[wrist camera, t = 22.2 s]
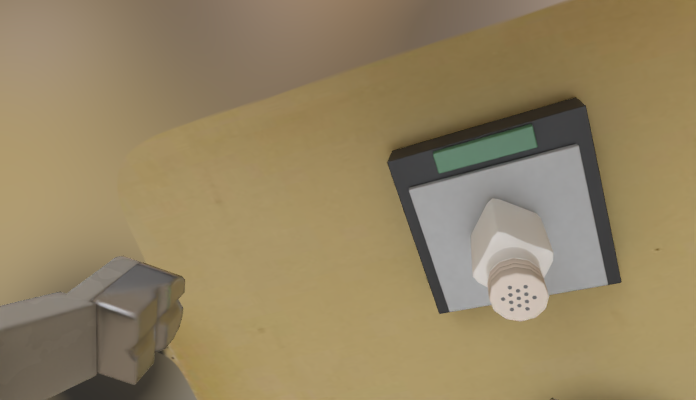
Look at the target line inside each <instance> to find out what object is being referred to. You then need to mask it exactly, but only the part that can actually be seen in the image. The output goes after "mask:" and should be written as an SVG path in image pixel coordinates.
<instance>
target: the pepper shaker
mask: <svg viewBox="0 0 696 400" xmlns="http://www.w3.org/2000/svg"><path fill="white" fill-rule="evenodd" d="M471 254H472V273H473V277H474V278H475V280H476V281H477V282H478V283H480V284H482V285H484V286H486V287H488V295H489V300H490V302H491V305H492V307H493V309H494V311H495V312H497V313H498V314H500V315H501V316H503V317H504V318H505V319H510V320H515V321H524V320H528V319H532V318H535V317H537V316H538V315H539V314H540V313H541V312H542V311H543V310H545V309H546V306H547V302H548V298H549V294H548V291H547V287H546V284H545V281H544V277H545V275H546V274H547V272H548V270H549V268H550V266H551V264H552V262H553V254H554V252H553V249H552V247H551V244H550V241H549V239H548V236H547V233H546V231H545V228H544V225H543V223H542V220H541V218H540V217H539V216H538V215H537V214H536V213H534V212H531V211H529V210H526V209H524V208H521V207H518V206H516V205H513V204H511V203H508V202H505V201H503V200H500V199H494V198H492V199H491V200H490V201H489V202H488V203H487V204H486V206H485V208H484V210H483V212H482V214H481V216H480V218H479V220H478V222H477V224H476V226H475V228H474V230H473V232H472V234H471Z"/></svg>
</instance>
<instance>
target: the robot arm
mask: <svg viewBox="0 0 696 400" xmlns="http://www.w3.org/2000/svg"><path fill="white" fill-rule="evenodd" d="M184 292H185V279H184V278H183V277H182V276H180V275H177V274H174V273H171V272H168V271H166V270H163V269H160V268H157V267H154V266H151V265H149V264H146V263H141V262H139V261H136V260H133V259H131V258H128V257H125V256H119V257H116V258H114V259H113V260H112V261H110V262H109V263H107V264H106V265H105V266H103V267H102V268H101V269H99V270H98V271H97V272H95V273H94V274H92V275H91V276H90V277H88V278H87V279H86V280H84V281H83V282H82V283H81V284H79V285H78V286H76V287H75V288H73V289H72V290H71V291H70V292H68V293H67V294H66V293H62V292H57V293H52V294H48V295H44V296H40V297H35V298H32V299H27V300H23V301H19V302H15V303H10V304H6V305H2V306H0V400H46V399H48V398H50V397H52V396H54V395H56V394H58V393H61V392H63V391H64V390H67V389H69V388H71V387H73V386H75V385H77V384H79V383H81V382H83V381H85V380H87V379H89V378H92V377H94V376H96V375H97V373H99V374H103V375H106V376H109V377H112V378H115V379H118V380H121V381H124V382H127V383H131V384H134V385H135V384H136V383H137V382H138V381H139V379H140V378H141V377H142V376H143V375H144V374H145V372H146V371H147V370H148V369H149V368H150V367H151V365H152V364H153V363H154V353H155V352H158V351H161V350H163V349H166V348H167V346H168V345H169V344H170V343H171V341H172V340H173V339H174V337H175V335H176V333H177V331H178V329H179V327H180V323H181V320H182V315H183V307H182V305H181V303H180V302H179V300H178V299H179V298H180V297H181V296H182V295H183V293H184ZM550 400H557V399H554V398H551V399H550Z"/></svg>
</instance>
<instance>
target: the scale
mask: <svg viewBox="0 0 696 400" xmlns="http://www.w3.org/2000/svg"><path fill="white" fill-rule="evenodd" d="M387 163H388V166H389V169H390V172H391V175H392V178H393V180H394V183H395V186H396V189H397V192H398V195H399V198H400V201H401V204H402V207H403V210H404V212H405V215H406V218H407V221H408V224H409V227H410V230H411V233H412V236H413V239H414V241H415V244H416V247H417V250H418V253H419V256H420V259H421V262H422V265H423V268H424V271H425V273H426V276H427V279H428V282H429V285H430V288H431V291H432V294H433V297H434V300H435V302H436V305H437V308H438V311H439V314H441V313H447V312H453V311H459V310H465V309H471V308H476V307H482V306H488V305H491V302H490V300H489V295H488V287H486V286H484V285H482V284H480V283H478V282H477V281H476V280H475V278H474V277H473V273H472V254H471V234H472V232H473V230H474V228H475V226H476V224H477V222H478V220H479V218H480V216H481V214H482V212H483V210H484V208H485V206H486V204H487V203H488V202H489V201H490V200H491V199H492V198H494V199H500V200H503V201H505V202H508V203H511V204H513V205H516V206H518V207H521V208H524V209H526V210H529V211H531V212H534V213H536V214H537V215H538V216H539V217H540V218H541V220H542V223H543V225H544V228H545V231H546V233H547V236H548V239H549V241H550V244H551V247H552V249H553V252H554V254H553V262H552V264H551V266H550V268H549V270H548V272H547V274H546V275H545V277H544V281H545V284H546V287H547V291H548V294H549V295H552V294H558V293H564V292H570V291H575V290H581V289H587V288H593V287H599V286H604V285H610V284H616V283H621V278H620V273H619V268H618V263H617V258H616V253H615V248H614V243H613V238H612V233H611V228H610V223H609V218H608V213H607V208H606V203H605V198H604V193H603V188H602V183H601V178H600V173H599V168H598V163H597V158H596V153H595V148H594V144H593V139H592V134H591V129H590V124H589V119H588V114H587V109H586V105H584V104H583V103H582V102H581V101H580V100H578V99H577V98H576V97H575V98H572V99H568V100H565V101H561V102H558V103H554V104H551V105H548V106H544V107H541V108H537V109H534V110H531V111H527V112H524V113H520V114H517V115H513V116H510V117H507V118H503V119H500V120H496V121H493V122H489V123H486V124H483V125H479V126H476V127H472V128H469V129H466V130H462V131H459V132H455V133H452V134H448V135H445V136H442V137H438V138H435V139H431V140H428V141H424V142H421V143H418V144H414V145H411V146H407V147H404V148H401V149H397V150H394V151H392V153H391V155H390V157H389V160H388V162H387Z"/></svg>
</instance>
